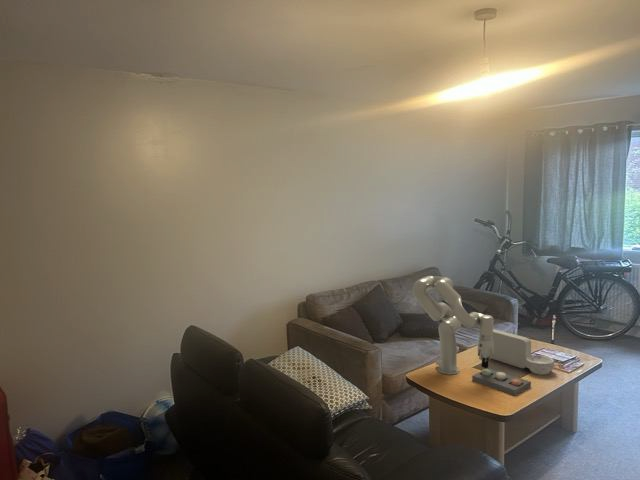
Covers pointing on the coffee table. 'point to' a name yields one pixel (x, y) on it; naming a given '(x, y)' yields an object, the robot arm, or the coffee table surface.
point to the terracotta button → (516, 382)
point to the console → (501, 382)
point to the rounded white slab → (511, 348)
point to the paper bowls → (539, 364)
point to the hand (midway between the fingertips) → (484, 367)
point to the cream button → (500, 375)
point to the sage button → (486, 372)
